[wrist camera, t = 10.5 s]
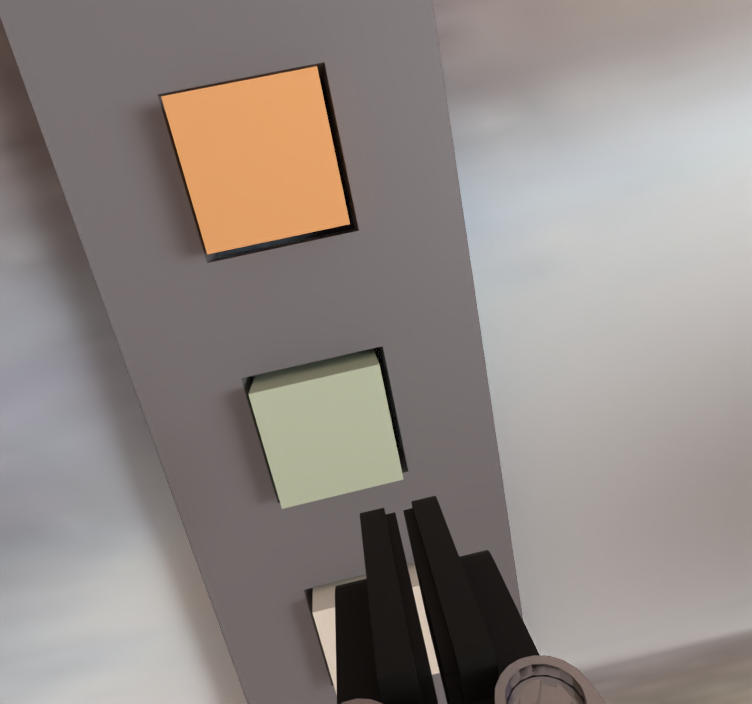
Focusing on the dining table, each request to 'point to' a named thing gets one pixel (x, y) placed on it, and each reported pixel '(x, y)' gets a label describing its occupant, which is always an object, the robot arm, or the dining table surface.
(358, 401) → the sage button
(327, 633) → the cream button
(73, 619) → the dining table surface
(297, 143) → the orange button
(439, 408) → the button panel
